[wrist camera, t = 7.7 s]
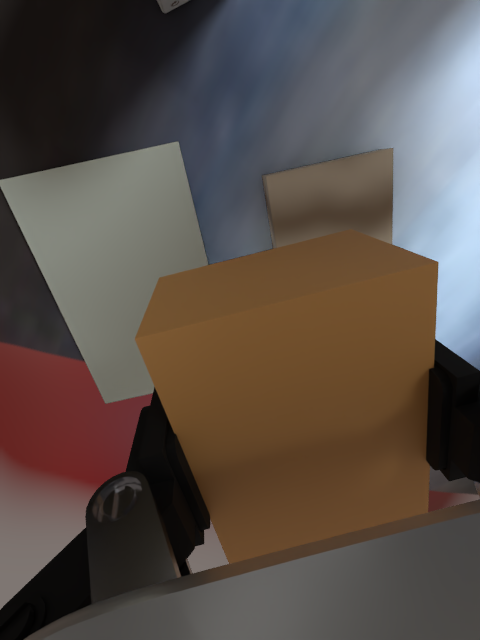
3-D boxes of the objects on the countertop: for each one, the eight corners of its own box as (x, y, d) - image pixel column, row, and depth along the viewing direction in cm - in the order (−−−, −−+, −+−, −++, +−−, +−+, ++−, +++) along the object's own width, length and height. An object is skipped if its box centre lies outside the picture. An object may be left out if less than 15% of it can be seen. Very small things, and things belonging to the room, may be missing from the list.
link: (374, 539, 17) (422, 641, 13) (261, 568, 17) (277, 679, 13) (351, 229, 10) (438, 262, 6) (159, 277, 10) (134, 338, 6)
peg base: (261, 175, 27) (296, 179, 17) (380, 149, 27) (484, 138, 17) (291, 372, 35) (325, 452, 25) (381, 352, 35) (450, 424, 25)
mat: (0, 180, 25) (-3, 180, 25) (178, 141, 25) (177, 141, 25) (106, 401, 34) (105, 403, 34) (235, 372, 35) (235, 374, 34)
